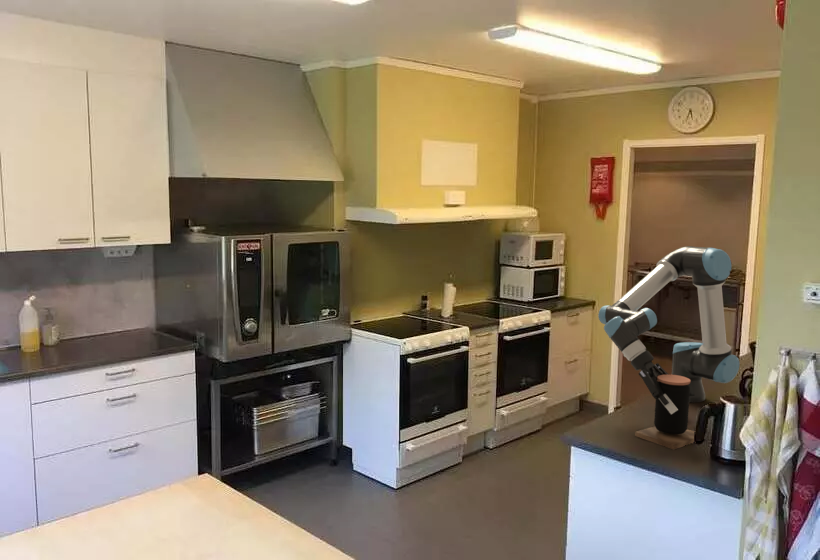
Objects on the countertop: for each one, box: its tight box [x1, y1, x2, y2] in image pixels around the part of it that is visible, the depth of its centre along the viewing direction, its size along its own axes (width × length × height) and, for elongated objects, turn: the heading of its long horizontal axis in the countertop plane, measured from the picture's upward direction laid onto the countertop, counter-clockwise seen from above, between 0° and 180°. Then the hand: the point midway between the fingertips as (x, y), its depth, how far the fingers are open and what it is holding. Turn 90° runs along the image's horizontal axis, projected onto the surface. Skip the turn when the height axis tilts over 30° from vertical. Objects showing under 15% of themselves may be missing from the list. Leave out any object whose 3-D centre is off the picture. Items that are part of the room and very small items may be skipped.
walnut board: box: [634, 425, 695, 450], centre depth 231 cm, size 18×15×2 cm
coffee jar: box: [653, 374, 691, 434], centre depth 230 cm, size 11×11×18 cm
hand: (680, 408), depth 228 cm, fingers closed on coffee jar, 11 cm apart
